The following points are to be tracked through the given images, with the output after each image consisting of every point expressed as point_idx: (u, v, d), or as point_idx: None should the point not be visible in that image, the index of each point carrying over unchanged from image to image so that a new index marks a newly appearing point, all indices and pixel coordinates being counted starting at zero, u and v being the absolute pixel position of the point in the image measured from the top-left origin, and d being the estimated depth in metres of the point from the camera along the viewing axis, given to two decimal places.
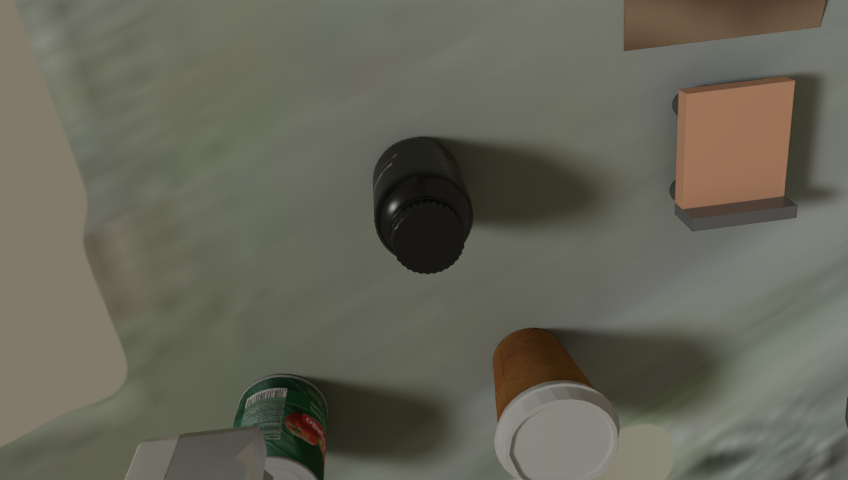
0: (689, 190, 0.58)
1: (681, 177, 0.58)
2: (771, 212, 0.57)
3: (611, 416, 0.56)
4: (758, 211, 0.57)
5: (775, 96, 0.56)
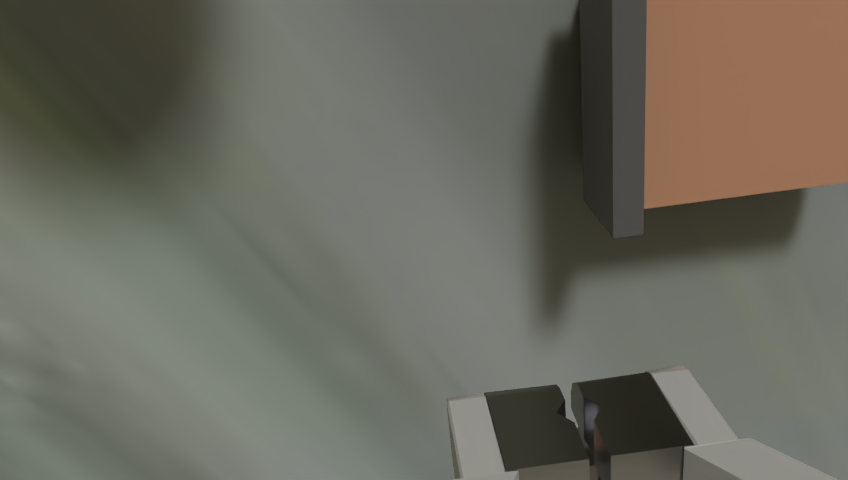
0: None
1: None
2: (635, 178, 0.24)
3: None
4: (641, 145, 0.23)
5: None
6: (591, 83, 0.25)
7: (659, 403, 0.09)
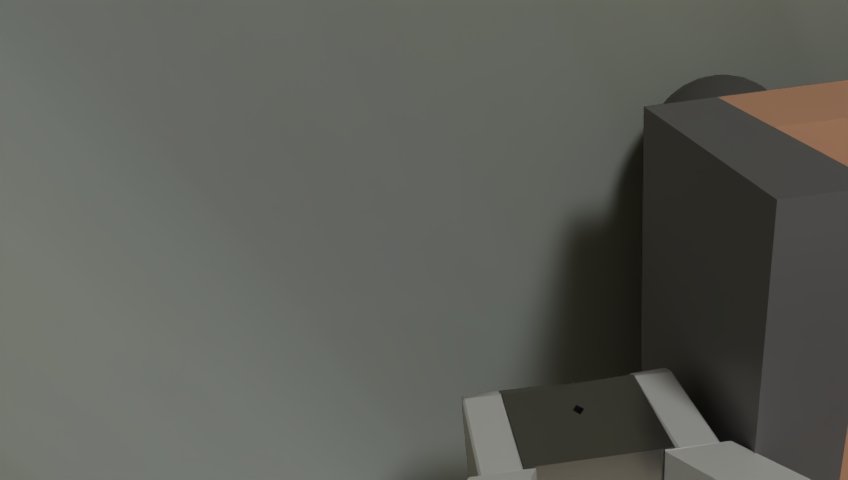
0: None
1: None
2: None
3: None
4: None
5: None
6: None
7: (641, 406, 0.09)
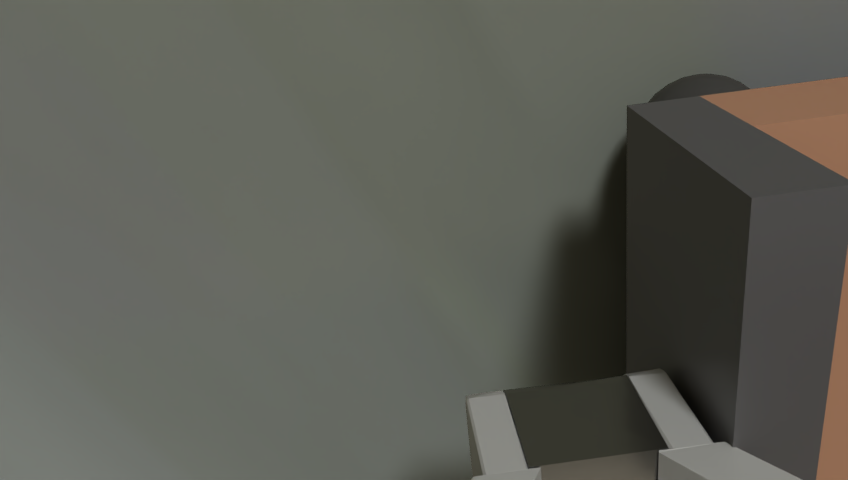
0: None
1: None
2: None
3: None
4: None
5: None
6: None
7: (636, 406, 0.09)
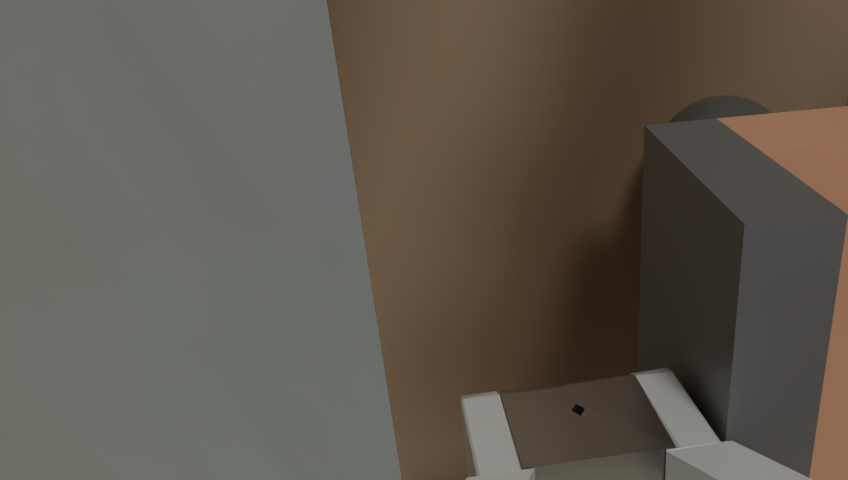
0: None
1: None
2: None
3: None
4: None
5: None
6: None
7: (643, 405, 0.09)
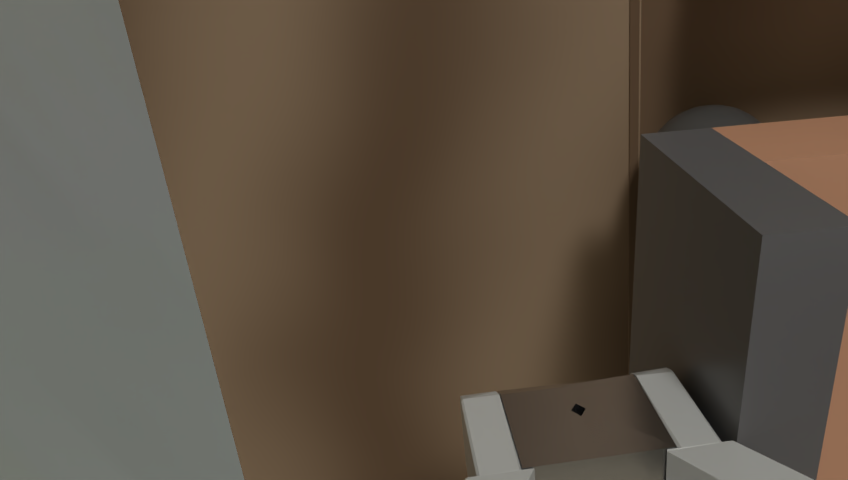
0: None
1: None
2: None
3: None
4: None
5: None
6: None
7: (643, 405, 0.09)
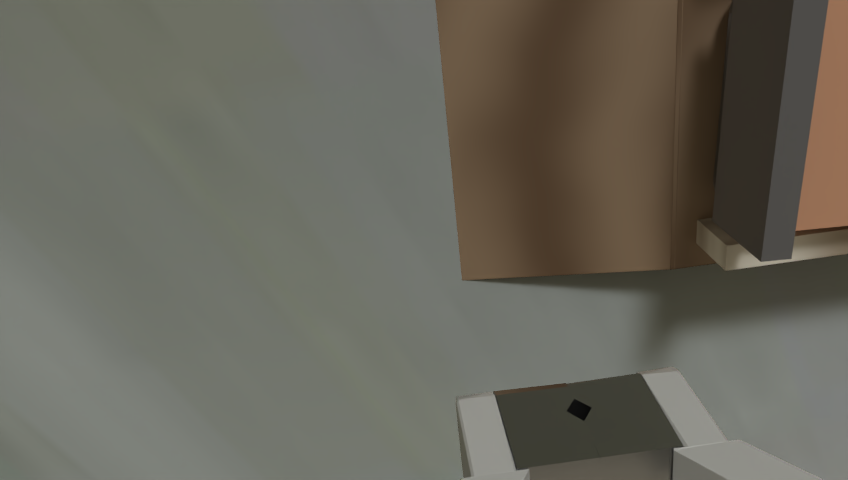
0: (835, 1, 0.23)
1: None
2: (790, 201, 0.23)
3: None
4: (801, 168, 0.23)
5: None
6: (742, 102, 0.24)
7: (649, 404, 0.09)
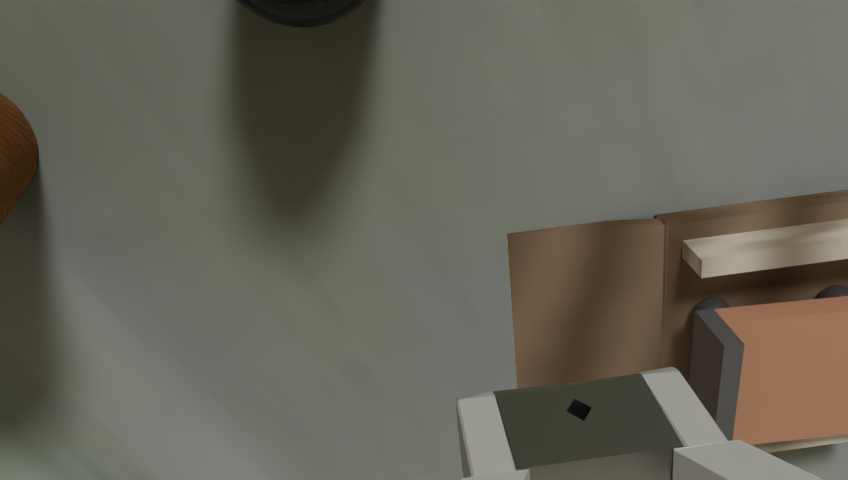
0: (753, 328, 0.39)
1: (770, 315, 0.39)
2: None
3: None
4: (732, 427, 0.39)
5: None
6: (699, 379, 0.40)
7: (649, 405, 0.09)
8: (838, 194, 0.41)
